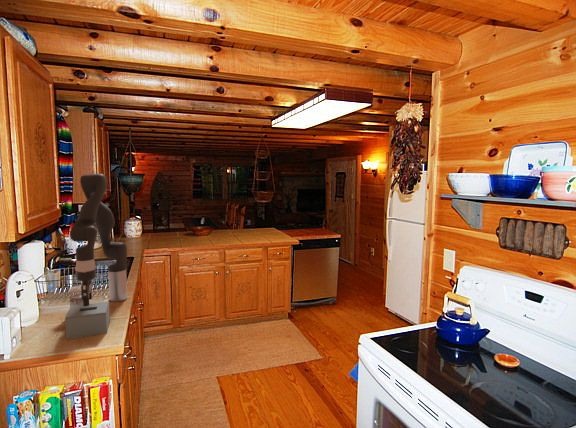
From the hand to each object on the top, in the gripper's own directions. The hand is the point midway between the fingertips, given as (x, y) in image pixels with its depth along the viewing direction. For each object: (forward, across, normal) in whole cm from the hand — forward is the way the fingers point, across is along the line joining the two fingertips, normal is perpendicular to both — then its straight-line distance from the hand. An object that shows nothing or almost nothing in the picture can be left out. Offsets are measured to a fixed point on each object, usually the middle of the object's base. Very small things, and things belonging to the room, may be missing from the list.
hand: (87, 302), depth 161 cm
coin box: (+13, 0, 0) cm, 13 cm away
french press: (+13, -19, -7) cm, 24 cm away
